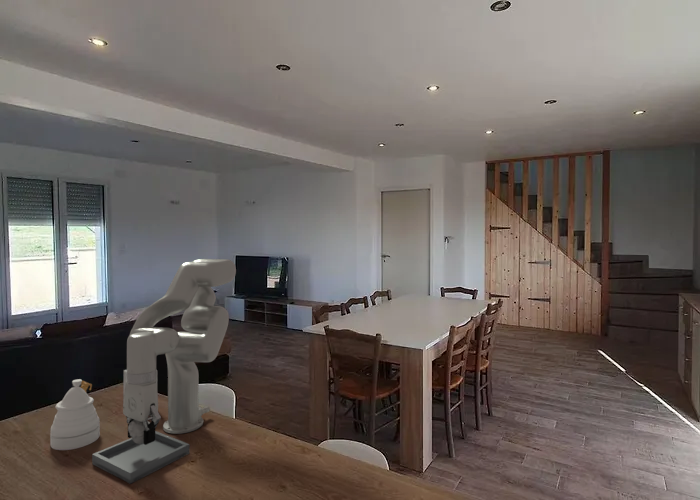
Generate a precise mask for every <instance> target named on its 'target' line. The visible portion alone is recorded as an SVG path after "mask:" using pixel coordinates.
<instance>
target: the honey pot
mask: <svg viewBox="0 0 700 500" xmlns="http://www.w3.org/2000/svg"><path fill="white" fill-rule="evenodd" d="M82 381H83V380H82V379H81V378H79V379H78V378H77V379H73V380H72V381H71V384H72V387H71V388H69V390H68V391H67V392H66V393H65V395H64V397H63V398H62V400H60V401H59V402H58V403H56V405H55V409H56V411H57V412H56V414H55V415H54V419H53V422H52V425H51V426H50V434H49V435H50V448H51V449H53V450H57V451H68V450H69V451H70V450H75V449H79V448H83V447H85V446H89V445H91V444H93V443H94V442H96V441H97V440H98V439H99V437H100V436H101V435H100V434H101V433H100V431H101V428H100V423H101V422H100V421H101V420H100V417H99V416H98V413H97V411H96V410H97V409H96V408H95V405H94V404H93V403H94V401H95V399H94V398H93V397H91V396H89V395H88V393H87V391H86V392H85V391H84V390H83V389H82V388H81V385H82V384H81V382H82Z"/></svg>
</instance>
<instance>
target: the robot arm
mask: <svg viewBox="0 0 700 500" xmlns="http://www.w3.org/2000/svg"><path fill="white" fill-rule="evenodd" d="M236 268H237V267H236V265H235V262H233V260H231V259H227V258H223V259H222V258H219V259H218V258H201V259H195V260H193V261H186V262H183V263H182V264H180V265H179V267H178V269H177V271H176V273H175V275H174V277H173V278H172V281H171V283H170V285H169V286H168V288H167V290H166V293H165V294H164V295H163V296H162V297H161V298H159V299H158V300H156V301H154V302H153V303H152V304H151V305H149V306H148V307H147V308H145V309H144V310H143V311H142V312H141V313H140V314H139V316H138V317H137V319H136V320H135V322H134V324H133V326H132V328H131V330H130V332H129V335H128V337H127V340H126V370H127V381H126V385H125V390H124V401H123V400H122V402H123V403H122V407H123V408H122V413H123V415H124V416H125V418H126V423H127V427H128V426H129V423H130V422H132V421H134V420H137V421H140V422H144V426H145V430H144V444H145V445H147V444H149V443H151V442H154V441H155V431H156V429H157V426H158V424H159V423H160V421H161V419H162V417H161V415H160V413H159V394H158V384H157V385H156V382H155V381H156V370H157V356H159V355H165V358H166V364H167V377H168V378H167V396H168V397H167V420H166V421H164V423H163V425H162V430H163V431H164V432H165V433H167V434H172V435H176V434H177V435H178V434H181V435H182V434H186V433H191V432H194V431H196V430H198V429H200V428H201V427H202V426H203V425H204V418H203V417H202V416H203V415H204V414H206V413H209V412H210V411H211V407H210V406H207V405H206V406H204V407H202V406H199V400H200V399H199V393H200V392H199V390H200V389H199V384H200V383H199V378H200V377H199V370H198V367H197V365H196V363H211V362H213V361H215V360H216V358H217V356H218V355H219V352H220V349H221V346H222V344H223V341H224V339H225V335H226V333H227V329H228V327H229V326H228V325H229V323H230V322H229V320H230V317H229V311H228V310H227V309H226V308H225V307H223V306H221V305H215V303H216V300H217V299H216V298H217V297H216V293H215V291H214V289H213V288H215V287H216V288H217V287H221V286H223V285H225V284H229V283H231V282H232V281H233V280H234V278H235V277H236V274H237V269H236ZM183 311H184V312H183ZM181 312H183V314H182V317H181V321H180V326H181V328H182V329H183V330H184V331H177V330H176V329H173V328H170V327H158V326H155V325H156V324H157V323H159V322H160V321H162V320H164V319H165V318H168V317H169V316H170V317H171V316H173V315H177V314H178V313H181ZM149 420H150V421H149ZM148 421H149V422H150V424H148ZM127 438H128V439H130V438H132V437H131V436H130V433H129V432H128V431H127Z"/></svg>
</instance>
